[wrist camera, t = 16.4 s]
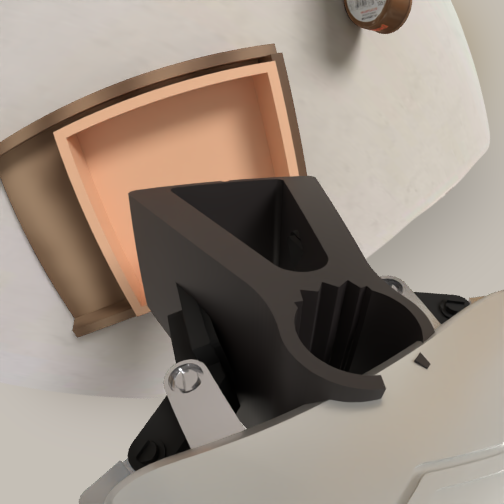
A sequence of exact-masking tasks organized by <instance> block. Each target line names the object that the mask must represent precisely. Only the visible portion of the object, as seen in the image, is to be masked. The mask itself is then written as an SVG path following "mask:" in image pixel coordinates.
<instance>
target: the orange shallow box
mask: <svg viewBox="0 0 504 504" xmlns="http://www.w3.org/2000/svg"><path fill="white" fill-rule="evenodd" d="M53 134H54V137H55V140H56V143H57V146H58V149H59V152H60V155H61V157H62V160H63V163H64V165H65V168H66V171H67V173H68V176H69V178H70V181H71V184H72V186H73V188H74V191H75V193H76V196H77V198H78V201H79V203H80V205H81V208H82V210H83V212H84V214H85V217H86V219H87V221H88V223H89V225H90V228H91V230H92V232H93V234H94V236H95V238H96V240H97V243H98V245H99V247H100V249H101V251H102V253H103V255H104V257H105V259H106V261H107V263H108V265H109V267H110V269H111V270H112V272H113V274H114V276H115V278H116V280H117V282H118V284H119V286H120V287H121V289H122V291H123V293H124V295H125V296H126V298H127V300H128V302H129V304H130V305H131V307H132V309H133V310H134V312H135V314H136V316H137V317H138V316H141V315H143V314H146V313H149V312H151V310H150V309H149V308H148V306H147V303H146V298H145V293H144V288H143V283H142V278H141V273H140V268H139V262H138V257H137V251H136V245H135V239H134V232H133V226H132V219H131V212H130V204H129V196H128V193H129V192H131V191H134V190H141V189H148V188H156V187H165V186H174V185H183V184H193V183H203V182H214V181H224V182H226V181H229V180H239V179H253V178H269V177H289V176H299V173H298V167H297V162H296V156H295V151H294V146H293V141H292V136H291V131H290V126H289V121H288V116H287V111H286V107H285V102H284V97H283V93H282V88H281V84H280V79H279V75H278V71H277V67H276V62H275V61H271V62H265V63H259V64H253V65H248V66H243V67H238V68H234V69H229V70H224V71H220V72H216V73H212V74H208V75H204V76H200V77H196V78H193V79H189V80H185V81H182V82H179V83H175V84H172V85H169V86H165V87H162V88H159V89H156V90H153V91H150V92H147V93H144V94H141V95H139V96H136V97H133V98H130V99H128V100H125V101H122V102H120V103H117V104H115V105H112V106H110V107H107V108H105V109H102V110H100V111H98V112H95V113H93V114H91V115H88V116H86V117H84V118H82V119H80V120H77V121H75V122H73V123H71V124H69V125H67V126H65V127H63V128H61V129H59V130H57V131H55V132H53Z"/></svg>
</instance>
